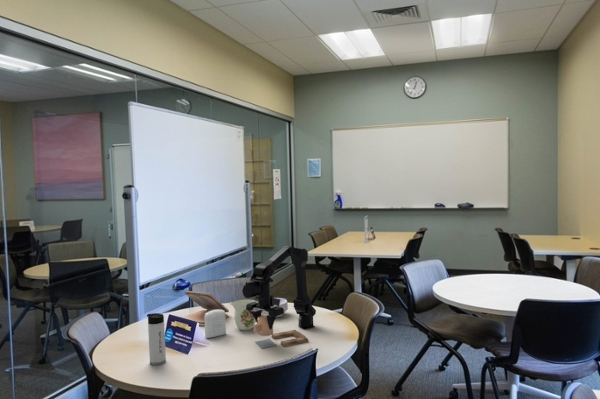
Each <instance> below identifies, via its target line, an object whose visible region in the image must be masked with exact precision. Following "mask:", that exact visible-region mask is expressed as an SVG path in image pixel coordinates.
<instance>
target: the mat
mask: <svg viewBox="0 0 600 399" xmlns="http://www.w3.org/2000/svg"><path fill="white" fill-rule="evenodd" d="M255 344H256V345H257V346H258V347H259V348H260V349H261V350H262V349H268V348H272V347H277V343H275V342H274V341H273V340H272V339H271V338H267V339H262V340H257V341H255Z"/></svg>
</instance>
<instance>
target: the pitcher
mask: <svg viewBox="0 0 600 399" xmlns="http://www.w3.org/2000/svg"><path fill="white" fill-rule="evenodd" d="M251 302H256V300H253V299H250V298H245V299H238V300H234V301H230V302H228V304H229V305H231V306H232V307H233V308H234V311H233V312H234V314H233V317H234V322H235V324H236V326H237V328H238V329H239V330H240V331H249V330H252V329H253V325H256V323H257V322H256V320H255V319H254V317H253V315H252V314H251V313H250V311H248V310H246V305H247V304H248V303H251ZM261 315H264V311H262V313H261Z"/></svg>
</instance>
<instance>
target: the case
mask: <svg viewBox="0 0 600 399" xmlns="http://www.w3.org/2000/svg"><path fill="white" fill-rule="evenodd" d="M184 294H185V295H186V296H187V297H188V298H190V300H191V301H193V302H195V303H196V304H197V305H198V306H199V307H201V308H202V309H203V310H199V311H197V312H193V313H190V314H187V315H184V316H183V317H184V318H187V319H191V320H194V321H197V322H198V323H199V326H198V327H205V313H207V312H209V311H212V310H224V311H225V317H226V318H228V317H229V314H227V313H230V310H229V309H228V308H227V307H226V306H225V305H224V304H223V303H222V302H220V301H219V300H218V299H217V297H215V296H214V295H213V294H211V293H208V292H200V291H192V290H191V291H190V290H185V291H184Z"/></svg>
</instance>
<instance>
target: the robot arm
mask: <svg viewBox="0 0 600 399" xmlns="http://www.w3.org/2000/svg"><path fill="white" fill-rule="evenodd" d="M289 257H290V260H291V263H292V264H293V266H294V270H295V271H294V272H295V285H296V296H295V298H294V299H293V308H294V310H295V313H296V315H299V316H298V325H297V326H298V327H300V329H302V330H307V329H312V328H316V326H315V325H314V317H315V315H316V313H317V310H316V308H314V306H313V304H312V300H311V298H310V296H309V295H308V287H307V276H306V274H307V273H306V266H307V265H306V264H307V263H308V259H309V252H308V250H307V248H302V247H299V248H298V247H294V246H293V245H283V246H282V248H280V250H279V251H277V252H276V253H275V254H273V256H271V257H270V258H269V259H268V260H266V261H263V262H260V263H258V264H257V265H256V266H255V267H254V270H253V273H252V275H251V277H250V279H249V281H246V282H245V285H244V286H243V287H242V290H241V291H242V296H243V297H244V298H245V299H250V298H254V297H255V299H256V300H257V301H255V302H251V303H248V304H247V305H246V310H248V311H250V313H251V314H252V315H253V317H254V319H255V320H256V322H255V323H256V324H258V316H260V315H261V314H262V311H267V312H268V314H269V315H267V320H268V325H269V328H270V330H271V329H272V327H273V328H274V325H275V324H274V323H275V320H276V317H277V316H279V315H282V314H283V315H285V312H284V309H283V308H282V307H278V306H279V304H280V299H276V298H277V297H274V295H273V294H271V283H273V282H274V279H273V278H272V276H273V275H274V273H275V271H276V268H277V267H278V266H280V264H282V263H283V262H284V261H285V260H286V259H287V258H289ZM274 305H277V306H276V307H273V306H274ZM271 307H273V308H271ZM277 318H278V317H277Z"/></svg>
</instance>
